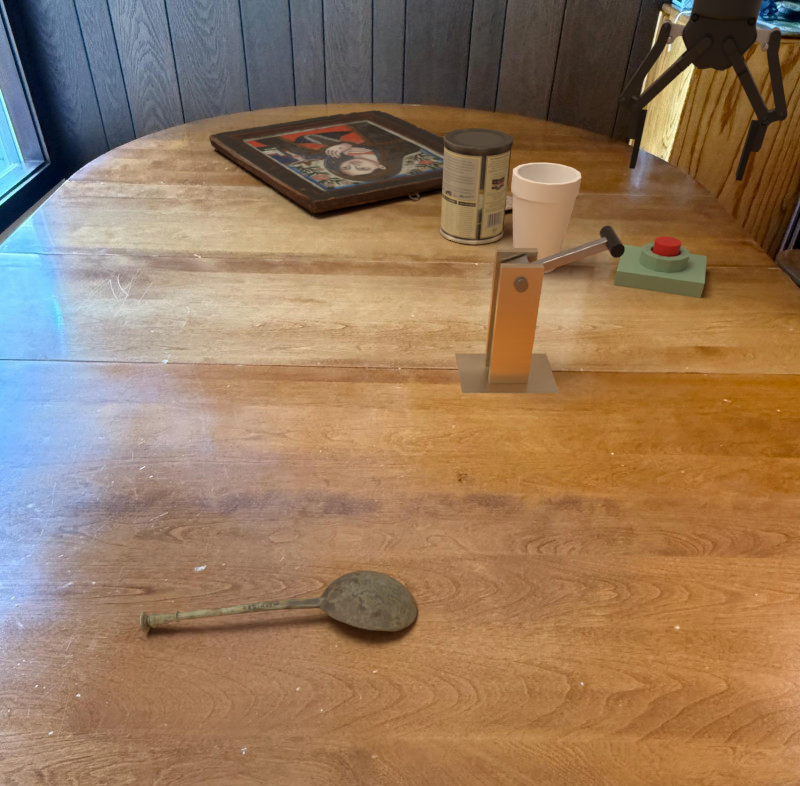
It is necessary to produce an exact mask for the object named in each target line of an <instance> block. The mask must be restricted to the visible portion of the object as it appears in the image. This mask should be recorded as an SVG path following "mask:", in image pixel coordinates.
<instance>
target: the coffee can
mask: <svg viewBox="0 0 800 786" xmlns="http://www.w3.org/2000/svg"><path fill="white" fill-rule="evenodd" d="M443 138H444V163H443V186H442V188H441V190H442V191H441V211H440V228H439V233H440V234H441V236H442V237H443V238H444V239H446V240H448V241H450V240H451V242H453V243H458V244H463V245H487V244H490V243H494V242H497V241H498V240H500V239H501V238H503V237H504V227H505V219H506V218H505V216H506V211H505V208H506V198H507V196H508V186H509V177H510V166H511V158H512V157H511V156H512V146H513V145H514V138H513V136H511V134H508V133H506V132H503V131H501V130H496V129H490V128H479V127H477V128H475V127H474V128H473V127H471V128H461V129H455V130H451V131H449V132H447V133H445V134H444V136H443Z"/></svg>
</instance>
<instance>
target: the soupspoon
mask: <svg viewBox="0 0 800 786" xmlns="http://www.w3.org/2000/svg"><path fill="white" fill-rule="evenodd" d="M307 609H320V610H322V612H324V613H325V614H326V615H327V616H329V617H330V618H332V619H334V620H335V621H337V622H340V623H343V624H346V625H349V626H351V627H354V628H357V629H362V630H366V631H377V632H399V631H401V630H404V629H407V628H408V627H410V626H411V625H412V624H413V623H414V622H415V620H416V618H417V615H418V613H419V609H418V604H417V601H416V598H415V597H414V596H413V594H412V592H411V591H410V590H409V589H408V588H407V586H405V585H404V583H402V582H401V581H400V580H398V579H396V578H395V577H393V576H391V575H389V574H387V573H383V572H379V571H375V570H356V571H351V572H348V573H344V574H343V575H341V576H339V577H337V578H336V579H335V580H333V581H332V582H331V583H329V585H327V586H326V588H325V589H324V591H323V592H322V593H321V595H320V596H319V597H318V596H316V597H307V598H306V597H305V598H291V599H279V600H270V601H262V602H261V601H260V602H253V603H245V604H238V605H231V606H230V605H229V606H223V607H215V608H207V609H197V610H191V611H185V612H180V611H179V610H176V611H174V612H173V613H166V612H163V613H158V614H156V613H153V612H152V613H150V614H149V615H148V613H147V612H146V611H144V610H142V611H141V612H140V614H139V620H138V621H139V627H140V630H141V632H142V633H145V634H148V633H149V632H150V631H151V628H152V629H155V628H157V627H158V626H161V625H167V624H170V623H171V622H175V623H180V622H181V621H184V620H185V621H187V620H195V619H204V618H215V617H224V616H234V615H242V614H252V613H260V612H270V611H271V612H272V611H285V610H286V611H287V610H307Z"/></svg>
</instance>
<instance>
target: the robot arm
mask: <svg viewBox="0 0 800 786" xmlns="http://www.w3.org/2000/svg"><path fill="white" fill-rule="evenodd" d="M762 3H763V0H693V2H692V7H691V11H690V16H689V19H688V21H687V22H686V24H680V23H676V22H673V21H672V20H671V19H665V20H664V21H662V23H661V26H660V29H659V32H658V36H657V39H656V40H655V43H654V44H653V45H652V47H651V49H650V50H649V52H648V53H647V55H646V57H644V59H643V61H642V62H641V63H640V65H639V66H638V68H637V69H636V71H635V73H634V74H633V76H632V77H631V79H630V81H629V82H628V83H627V85H626V86H625V87H624V89H623V91H622V92H621V94H620V96H619V98H618V104H619V105H620V106H622V107H625V108H627V109H628V110H629V112H630V116H629V122H628V126H627V131H626V137H627V139H628V140H634V141H633V147H632V152H631V156H630V162H629V166H628V169H632V170H635V169H636V166H637V162H638V158H639V154H640V149H641V143H642V138H643V133H644V130H645V124H646V119H647V115H648V109H644V108H645V107H646V106H647V105H648V104H649V103H651V102H652V101H653V100H654V99H655V98H656V97H657V96H658V95H660V93H662V92H663V91H664V89H665V88H666V87H667V86H669V85H670V84H671V83H672V82H673V81H674V80H676V78H677V77H678V76H679V75H681V74H682V72H684V71H685V70H686V69H687V68H689V67H690V66H691V64H692V66H694V67H696V68H697V69H698V70H707V69H713V70H716V71H721V72H725V70H728V69H730V68H733V70H734V72H735V74H736V76H737V78H738V80H739V82H740V85H741V86H742V88H743V91H744V92H745V95H746V97H747V99H748V101H749V104H750V106H751V107H752V110H753V112H754V114H755V116H756V118H757V119H751V120H750V123H749V126H748V131H747V134H746V137H745V140H744V141H745V142H744V144H743V146H742V147H743V148H742V151H741V155H740V158H739V161H738V163H737V164H738V165H737V167H736V171H735V181H739V182H742V181H743V178H744V176H745V172H746V169H747V166H748V161H749V158H750V156H751V153H759V152H760V150H761V149H762V148H763V147H762V146H763V143H764V140H765V136H766V133H767V131H768V127H769V126H770V125H771V124H772V123H775V122H779V121H780V122H782V121H785V120H786V119H787V118H788V108H787V101H786V95H785V87H784V81H783V75H782V67H781V61H780V55H779V51H780V46H781V41H782V35H783V34H782V31H781V28H780V27H778V26H775V27H773V28H771V29H764V30H763V29H762V30H761V29H760V30H757V22H758V18H759V15H760V11H761V8H762ZM679 37H681V40H682V42H683V44H684V47H685V49H686V50H685V51H684V52H683V53H681V54H680V55H679V56H678V57H677V59H676V60H675V61H674V62H673V63H672V64H670V66H668V68H666V69H665V70H664V72H662V73H661V75H659V76H658V77H657V78H656V79H655V80H654V81H653V82H652V83H651V84H650V85H649V86H648V87H646V89H645V90H644V91H643V92H641V94H639V95H638V96H635V95H634V94H635V93H636V92H637V90H638V89H639V87H640V85H641V84H642V83H643V82H644V80H645V78H646V77H647V75H648V74H649V72H650V71H651V69H653V67H654V65H655V63H656V62H657V60H658V59H659V57H660V56H661V55H662V53H663V51H664V49H665V47H666V46H667V45H672V44H673V43H674V42H675V40H676V39H677V38H679ZM755 43H758V44H759V45H760V50H761V51H762V52H764V53H765V52H766V61H767V66H768V72H769V77H770V84H771V91H772V97H773V104H774V108H770V109H768V106H767V105H766V102H765V101H764V97H763V96H762V94H761V92H760V91H761V90H760V89H759V88H758V85H757V82H756V80H755V78H754V77H753V75H752V73H751V70H750V68H749V66H748V62H747V61H746V59H745V57H744V54H745V53H747V52H748V51H749V50H750V49H751V47H753V46H754V44H755Z"/></svg>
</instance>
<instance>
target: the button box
mask: <svg viewBox="0 0 800 786" xmlns="http://www.w3.org/2000/svg"><path fill="white" fill-rule="evenodd" d="M654 242H655V241H652V242H648V243H646V244H643V245H642V246H636V245H631V244H630V245H629V244H623V246H624V247H625V252H624V254H623V255H622V256H621V257H619V260H618V264H617V268H616V270H615V271H616V272H615V276H614V280H613V286H615V287H622V288H623V287H624V288H629V289H637V290H644V291H648V292H649V291H650V292H656V293H663V294H669V295H675V296H676V295H677V296H684V297H689V298H697V299H701V298H702V296H703V295H702V294H703V291H704V287H705V284H706V276H707V275H706V273H707V261H708V256H707V255H705V254H704V255H702V254H696V253H690V250H688V249H687V248H686V247H685V246H682V245H681V246H680V250H679V254H678V256H676V257H665V256H660V255H657V254H654V253H653V252H652V251H653V246H654Z"/></svg>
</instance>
